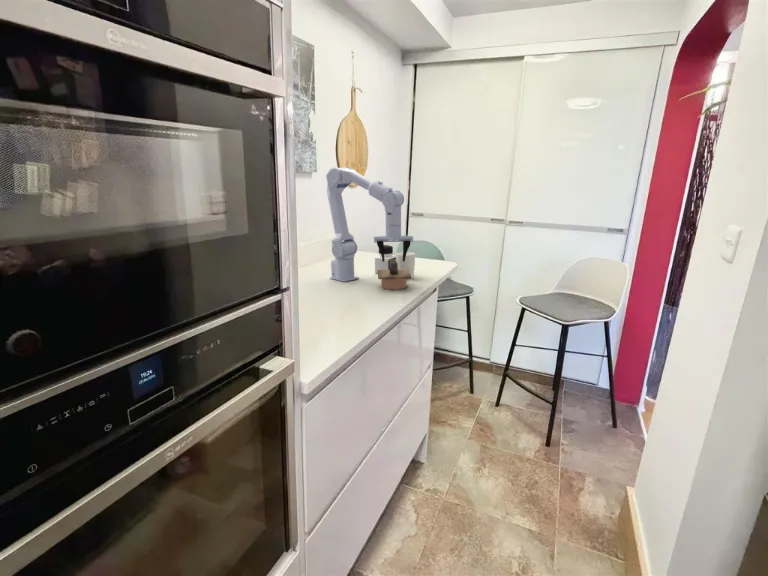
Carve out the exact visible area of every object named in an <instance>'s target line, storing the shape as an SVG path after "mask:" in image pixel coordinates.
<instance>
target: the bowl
mask: <svg viewBox="0 0 768 576" xmlns="http://www.w3.org/2000/svg"><path fill="white" fill-rule="evenodd" d="M380 281H381V288H382V287H383V289H384V288H385V290H391V289H396V290H402V288H403V289H405V288H407V279H380Z"/></svg>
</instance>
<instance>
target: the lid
mask: <svg viewBox="0 0 768 576" xmlns="http://www.w3.org/2000/svg"><path fill="white" fill-rule="evenodd" d="M377 273H378V274H377V279H378V280H381V279H406V280H411V275H410V273H409V271H408V269H405V270H398V263H397V262H390V270H377Z"/></svg>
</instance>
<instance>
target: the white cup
mask: <svg viewBox="0 0 768 576" xmlns="http://www.w3.org/2000/svg"><path fill="white" fill-rule="evenodd" d="M395 256H396V262H397V263H398V270H405V269H408V271H409V273H410V275H411V279H413V278H414V276H415V265H416V253H415V252H410V251H407V254H406V257H405V261H403V251H401V252H396V253H395ZM411 279H410V280H411Z"/></svg>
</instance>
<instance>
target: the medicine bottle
mask: <svg viewBox="0 0 768 576" xmlns="http://www.w3.org/2000/svg"><path fill="white" fill-rule="evenodd" d="M393 251H394V247H393V245H390V244H384V262H382V256H381V252H380V250H379V249H378V255H377V256H375V257H374V273H375V274H376V273H377V270H390V262H396V255H393V254H394V252H393ZM376 275H378V273H377V274H376Z"/></svg>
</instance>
